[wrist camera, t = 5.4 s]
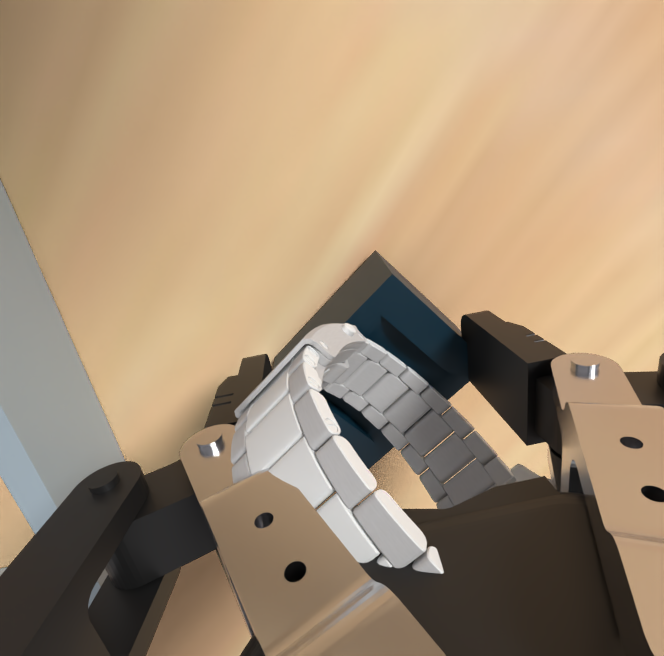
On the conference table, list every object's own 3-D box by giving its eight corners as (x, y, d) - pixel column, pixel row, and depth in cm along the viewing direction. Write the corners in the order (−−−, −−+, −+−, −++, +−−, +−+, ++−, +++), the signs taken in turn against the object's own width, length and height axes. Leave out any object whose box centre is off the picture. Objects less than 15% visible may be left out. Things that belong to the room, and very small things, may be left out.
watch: (389, 442, 17) (501, 843, 7) (237, 329, 15) (85, 692, 5) (489, 353, 16) (808, 698, 6) (340, 213, 13) (433, 378, 3)
